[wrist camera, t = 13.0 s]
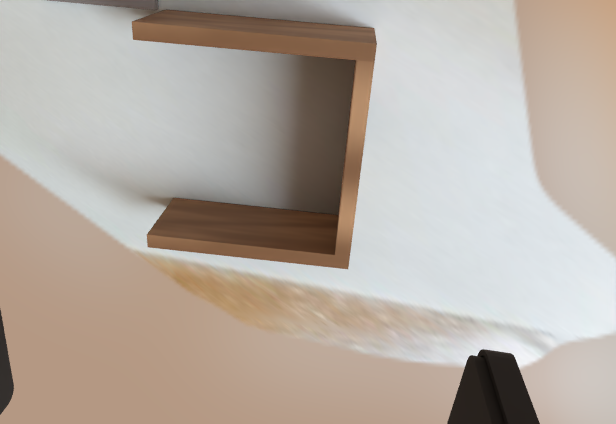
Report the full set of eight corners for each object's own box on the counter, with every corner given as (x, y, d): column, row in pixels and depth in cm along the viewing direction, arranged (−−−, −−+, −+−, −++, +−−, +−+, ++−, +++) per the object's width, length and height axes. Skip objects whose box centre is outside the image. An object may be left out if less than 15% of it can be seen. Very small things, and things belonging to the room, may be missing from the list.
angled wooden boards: (165, 9, 36) (131, 21, 31) (374, 28, 36) (376, 43, 30) (174, 209, 43) (147, 247, 38) (349, 227, 42) (348, 269, 37)
